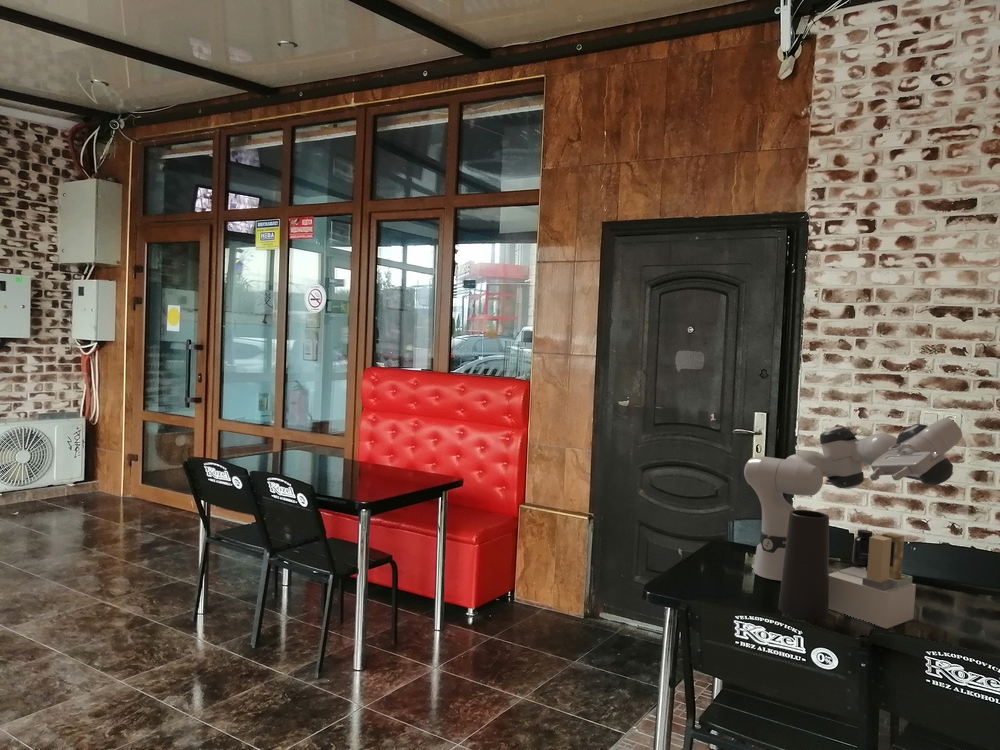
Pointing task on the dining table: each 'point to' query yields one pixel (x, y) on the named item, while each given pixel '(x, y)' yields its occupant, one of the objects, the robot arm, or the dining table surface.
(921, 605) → the dining table surface
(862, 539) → the supplement bottle
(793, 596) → the vase
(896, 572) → the block
